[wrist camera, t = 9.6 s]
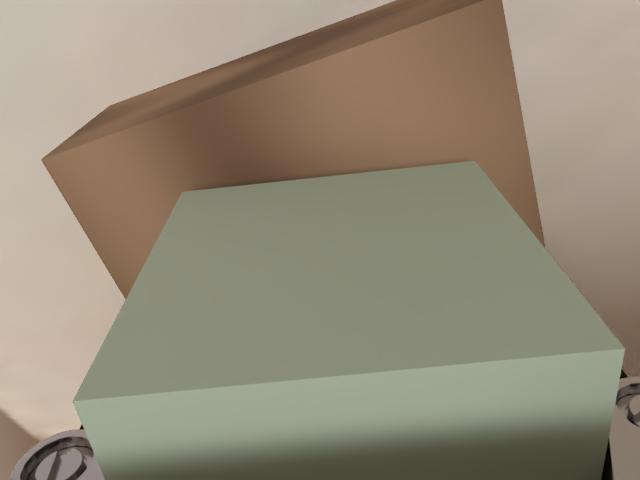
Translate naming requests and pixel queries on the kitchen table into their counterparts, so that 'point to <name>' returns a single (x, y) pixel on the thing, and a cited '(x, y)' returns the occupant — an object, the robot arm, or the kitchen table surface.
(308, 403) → the green cube
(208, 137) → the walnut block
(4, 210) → the kitchen table surface
